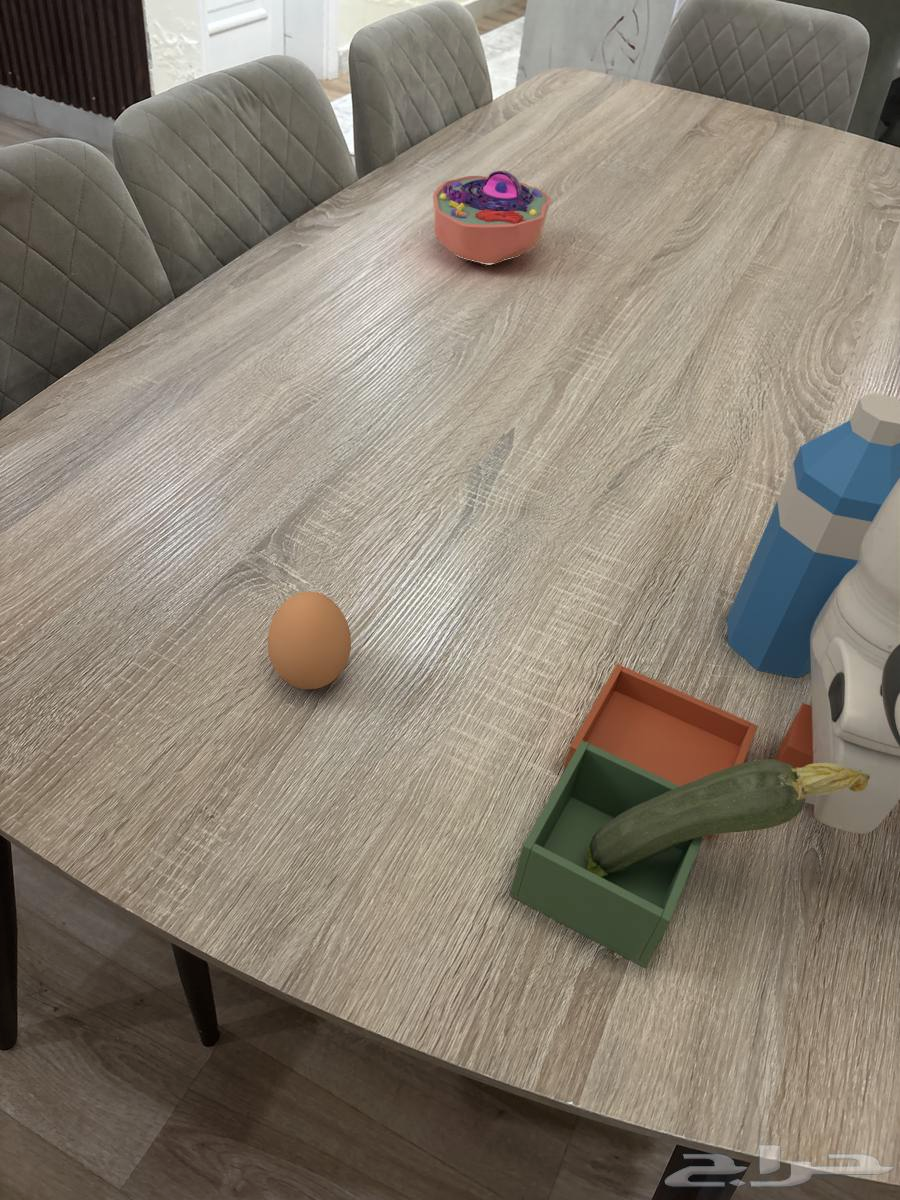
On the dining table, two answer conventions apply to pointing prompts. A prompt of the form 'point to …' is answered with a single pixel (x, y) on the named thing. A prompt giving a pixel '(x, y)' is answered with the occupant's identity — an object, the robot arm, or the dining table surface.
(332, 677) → the egg
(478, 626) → the dining table surface
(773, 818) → the vegetable
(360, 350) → the dining table surface
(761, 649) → the water bottle
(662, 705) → the terracotta tray
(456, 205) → the cell model
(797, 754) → the terracotta block
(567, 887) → the produce bin
